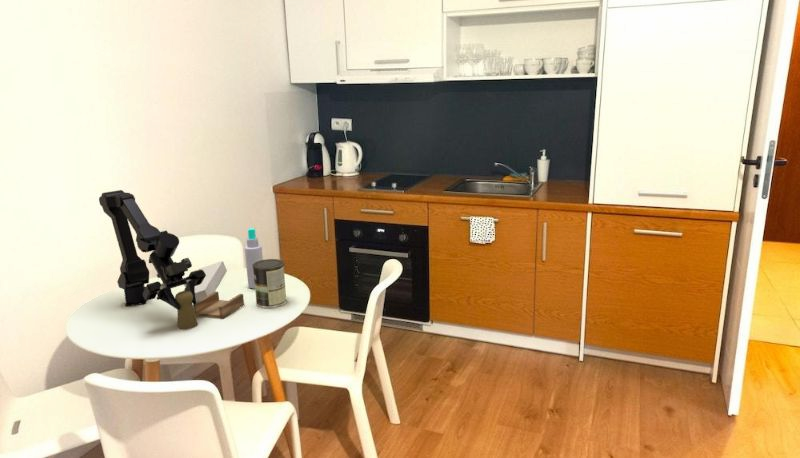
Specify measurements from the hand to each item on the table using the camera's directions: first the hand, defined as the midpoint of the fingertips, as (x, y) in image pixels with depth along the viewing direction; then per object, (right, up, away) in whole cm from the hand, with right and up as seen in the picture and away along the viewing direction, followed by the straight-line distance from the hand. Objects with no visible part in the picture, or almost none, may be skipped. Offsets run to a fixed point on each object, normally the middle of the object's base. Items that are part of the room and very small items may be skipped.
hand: (187, 306), depth 173 cm
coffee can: (+21, -2, +19) cm, 29 cm away
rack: (+5, -3, +14) cm, 15 cm away
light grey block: (-8, +2, +38) cm, 39 cm away
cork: (-1, -6, +3) cm, 7 cm away
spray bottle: (+12, +2, +36) cm, 38 cm away
